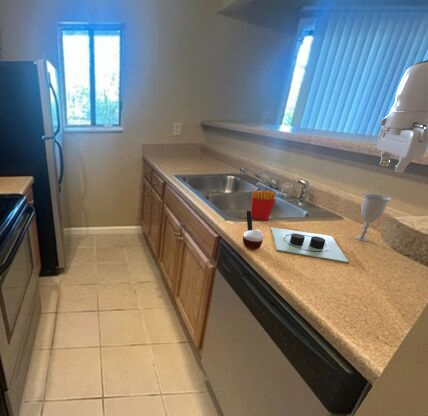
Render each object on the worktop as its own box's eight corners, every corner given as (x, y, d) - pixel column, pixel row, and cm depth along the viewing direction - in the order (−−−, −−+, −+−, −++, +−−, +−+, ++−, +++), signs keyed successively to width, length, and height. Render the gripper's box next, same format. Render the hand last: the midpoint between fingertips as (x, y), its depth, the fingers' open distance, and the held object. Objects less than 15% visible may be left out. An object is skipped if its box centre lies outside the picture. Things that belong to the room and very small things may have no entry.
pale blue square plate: (331, 237, 105) (331, 235, 104) (348, 263, 88) (349, 261, 87) (270, 228, 113) (271, 226, 112) (276, 250, 96) (276, 249, 96)
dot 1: (301, 241, 100) (303, 234, 99) (303, 246, 97) (306, 239, 96) (288, 239, 102) (290, 232, 101) (290, 244, 99) (292, 237, 98)
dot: (321, 245, 98) (324, 237, 97) (324, 250, 95) (327, 242, 94) (308, 242, 100) (310, 235, 98) (310, 247, 96) (312, 240, 95)
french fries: (269, 217, 123) (275, 189, 119) (271, 221, 119) (277, 192, 115) (246, 215, 126) (251, 188, 121) (248, 218, 122) (253, 191, 117)
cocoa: (262, 254, 94) (269, 222, 89) (242, 251, 96) (248, 219, 92) (258, 241, 102) (264, 212, 98) (240, 239, 104) (245, 210, 100)
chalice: (369, 250, 95) (388, 201, 89) (345, 243, 100) (360, 196, 94) (375, 244, 99) (393, 197, 93) (351, 237, 104) (366, 192, 98)
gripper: (446, 124, 69) (423, 177, 74) (405, 119, 86) (389, 163, 91) (412, 124, 72) (392, 175, 77) (378, 119, 89) (364, 161, 94)
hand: (390, 168), depth 84 cm, fingers open, 8 cm apart
